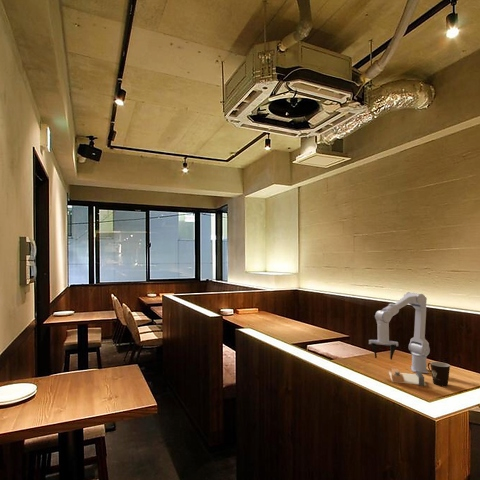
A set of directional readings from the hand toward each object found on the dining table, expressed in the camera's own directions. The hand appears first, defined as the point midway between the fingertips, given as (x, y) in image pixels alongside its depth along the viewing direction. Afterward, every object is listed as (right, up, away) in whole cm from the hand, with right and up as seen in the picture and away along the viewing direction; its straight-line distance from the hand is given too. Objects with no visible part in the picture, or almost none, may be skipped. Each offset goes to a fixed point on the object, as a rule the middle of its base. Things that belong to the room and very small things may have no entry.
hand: (383, 358), depth 184 cm
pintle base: (+11, -9, -4) cm, 15 cm away
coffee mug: (+24, -9, -10) cm, 28 cm away
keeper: (+14, -9, -10) cm, 20 cm away
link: (+6, -9, -2) cm, 11 cm away
